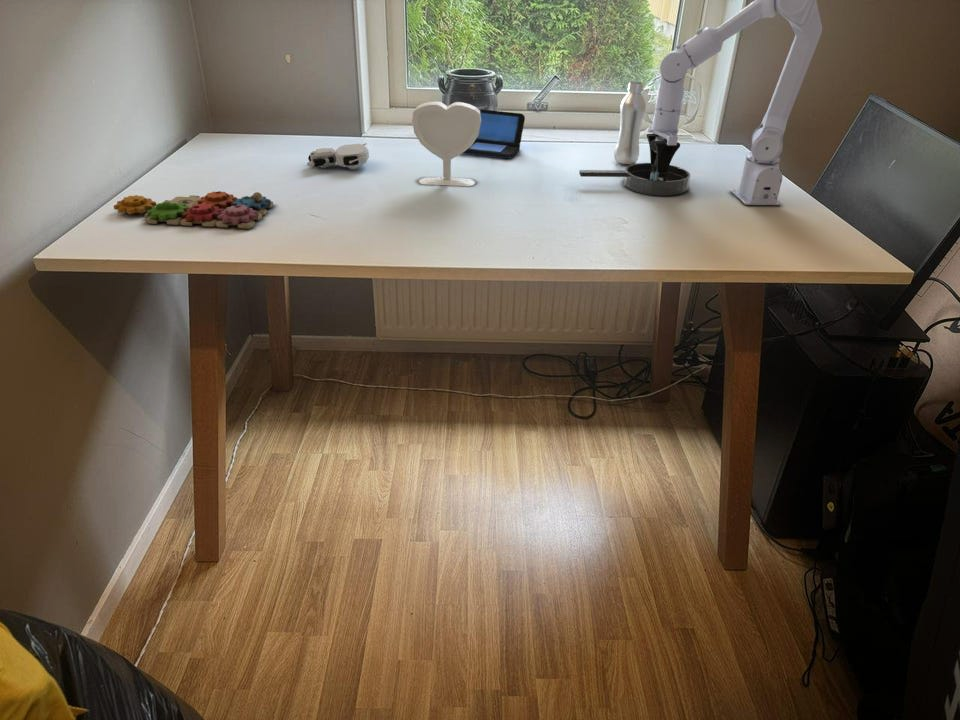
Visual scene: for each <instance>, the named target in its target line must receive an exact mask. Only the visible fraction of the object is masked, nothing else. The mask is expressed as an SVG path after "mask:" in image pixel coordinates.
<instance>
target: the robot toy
mask: <svg viewBox="0 0 960 720" xmlns="http://www.w3.org/2000/svg"><path fill="white" fill-rule="evenodd" d="M367 144H368V143H352V144H344V145H341V146H339V147H337V149H336V150H335V149H334V148H332V147H325V148H324V147H323V148H318V149H316V150H312V151H311V152H310V154H309V155H308V157H307V159H308V162H306V163H307V164H306V165H307V166H309V167H315V168H321V169H327V167H332V166H334V165H336V164H337V165H338V166H339V167H343V168H348V169H350V170H356V169H358V168H359V167H360V166H363V165H364V164H366V163H367V162H368V161H369V159H370V153H369V148H368V147H367Z"/></svg>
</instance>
